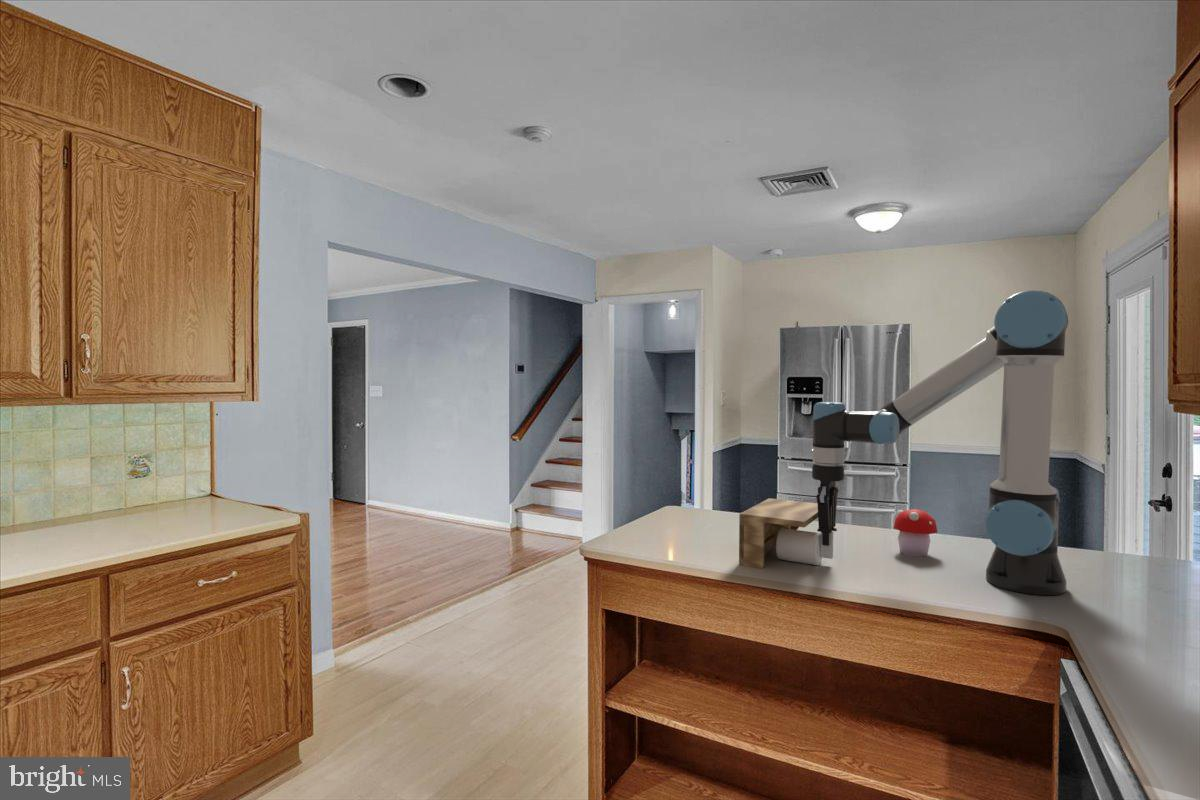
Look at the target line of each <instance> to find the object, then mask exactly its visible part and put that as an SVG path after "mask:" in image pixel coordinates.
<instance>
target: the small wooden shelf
mask: <svg viewBox="0 0 1200 800" xmlns="http://www.w3.org/2000/svg"><path fill="white" fill-rule="evenodd" d="M738 518H739V522H738V523H739V528H738V529H739V533H738V538H739V539H738V548H739V549H738V565H739V566H744V567H745V566H746V567H750V568H751V567H752V568H756V569H764V568H765V555H766V554H768V553H769V552H770V551H772V550H773V549H775V548H776V540H777V535H778V532H779V530H780V529H781V528H785V529H790V526H796V527H799V528H806V527H807V526H809V525H810V524H811V523H812V522H814V521H815V520H817V519H818V503H817V502H809V501H807V502H806V501H796V500H788V499H780V498H779V499H778V498H767V499H765V500H763V501H761V502H759V503H757V504H756V505H754V506H752V507H749V508H748V509H746V510H744V511H742V512H740V513H739V517H738Z"/></svg>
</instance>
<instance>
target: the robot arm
mask: <svg viewBox="0 0 1200 800" xmlns="http://www.w3.org/2000/svg"><path fill="white" fill-rule="evenodd" d="M993 322H994V324H993V327H991V328H990V329H988V330H987V331H986V336H985V338H982V339H981V340H980V341H979V342H977V343H976V344H974V345H973V346H971V347H970V348H968V349H967V350H965V351H964V352H962V353H961V354H959V355H958V356H956V357H955V358H954V359H952V360H951V361H949V362H948V363H946V364H944V365H943V366H942V367H940V368H939V369H937V370H936V371H934V372H933V373H932V374H930V375H928V376H927V377H926V378H924V379H923V380H921V381H920V382H918V383H917V384H915V385H914V386H913V387H911V388H909V389H907V391H905V392H904V393H902V394H900V395H899V396H898V397H896V398H894V399H893V400H892V401H890V402H889V403H886V405H884V406H883V407H880V409H878V410H873V411H869V410H868V411H864V410H863V411H861V410H860V411H853V410H847V409H846V404H845V403H844V402H838V401H837V402H836V401H820V402H816V403H815V404H814V405H813V411H812V412H813V413H812V420H811V421H812V449H810V451H809V452H810V454H812V462H813V464H811V465H812V468H811V477H812V479H813V480H816V481H819V482H820V483H819V486H818V487H817V493H818V494H816V503H818V518H817V519H818V520H817V521H818V528H817V532H818V533H821V554H820V557H822V559H823V558H824V559H829V560H831V559H832V560H833V558H834V532H837V530H838V529H837V528H835V527H836V525H837V524H836V520H837V505H838V493H839V488H838V487H837V486H836V482H842V481H844V479H845V466H844V465H843V464H845V459H846V458H845V451H846V450H845V443H846V442H856V443H867V444H869V443H870V444H877V445H886V444H887V445H889V444H890V445H891V444H895V443H896V442H897V441H898V438H899V436H900V435H902V433H903V431H906V430H907V429H908V428H911V426H913V425H914V424H916V423H917V422H919V421H921V420H922V419H923V418H924V419H925V417H927V416H928V415H929V414H932V413H933V412H934V411H936V410H937V409H939V408H940V407H942V406H944V405H946V404H947V403H948V402H950V401H952V400H954V398H957V397H958V396H959V395H961V394H963V393H964V392H966V391H968V390H969V389H971V388H972V387H974V386H976V385H977V384H979V383H980V382H981V381H983V380H985V379H987V378H988V377H989V376H990V375H992V374H994V373H995V372H997V371H999V370H1001V369H1002V368H1003V383H1002V404H1001V405H1002V406H1001V425H1000V446H999V463H998V478H997V479H995V480H994V481H992V483H990V484H989V497H988V498H989V499H988V511H987V512H986V516H985V517H984V527H985V531H986V534H987V536H988V538H989V539H990V541H991V542H992V543H993V545H995V546H994V550H993V552H992V555H991V557H990V560H989V561H988V564H987V567H986V569H985V580H986V581H987V582H989V583H990V584H992V585H994V586H996V587H998V588H1002V589H1005V590H1008V591H1012V592H1016V593H1023V594H1027V595H1028V594H1029V595H1037V596H1038V595H1039V596H1060V595H1063V594H1065V593H1066V592H1067V577H1066V576H1065V573H1064V570H1063V567H1062V565H1061V562H1060V559H1059V554H1058V547H1059V546H1058V544H1059V542H1058V541H1059V515H1060V514H1059V512H1060V511H1059V510H1060V509H1059V508H1060V502H1061V498H1060V492H1059V490H1058V489H1057V488H1056V487H1055V486H1052V485H1051V484H1050V482H1049V476H1050V475H1049V473H1050V458H1051V457H1050V456H1051V455H1050V454H1051V436H1052V435H1051V434H1052V419H1053V418H1052V417H1053V416H1052V415H1053V401H1054V399H1053V395H1054V381H1055V378H1054V376H1055V366H1056V365H1057V364H1058V363H1059V362H1060V361H1062V360H1063V359H1064V358H1065V346H1066V345H1065V343H1066V332H1067V331H1066V330H1067V328H1068V325H1069V317H1068V313H1067V310H1066V307H1065V305H1064V304H1063V302H1062V301H1061V300H1060V299H1059V298H1058V297H1057V296H1056V295H1054V294H1052V293H1050V292H1047V291H1043V290H1032V289H1031V290H1030V289H1029V290H1024V291H1020V292H1017V293H1014V294H1013V295H1011V296H1009V297H1008V298H1006V299H1005V300H1004V301H1002V303H1001V305H1000V306H999V307H998V309H997V311H996V313H995V316H994V321H993Z"/></svg>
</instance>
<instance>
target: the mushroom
mask: <svg viewBox="0 0 1200 800" xmlns="http://www.w3.org/2000/svg"><path fill="white" fill-rule="evenodd" d="M936 523H937V521H936V519H935V518H933V517H932V516H931V515H930V514H929V513H928V512H926V511H925V510H922V509H921V510H920V509H917V508H913V509H912V508H911V509H907V510H903V509H899V510H897V511H896V517H895V518H894V524H893V529H895V530H898V531H899V533H898V537H897V541H898V545H899V547H898V548H899V551H900V553H901V554H903V555H905V556H912V557H927V556H928V555H929V549H930V545H931V538H930V535H932V534H938V527H937V524H936ZM926 555H927V556H926Z"/></svg>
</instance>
